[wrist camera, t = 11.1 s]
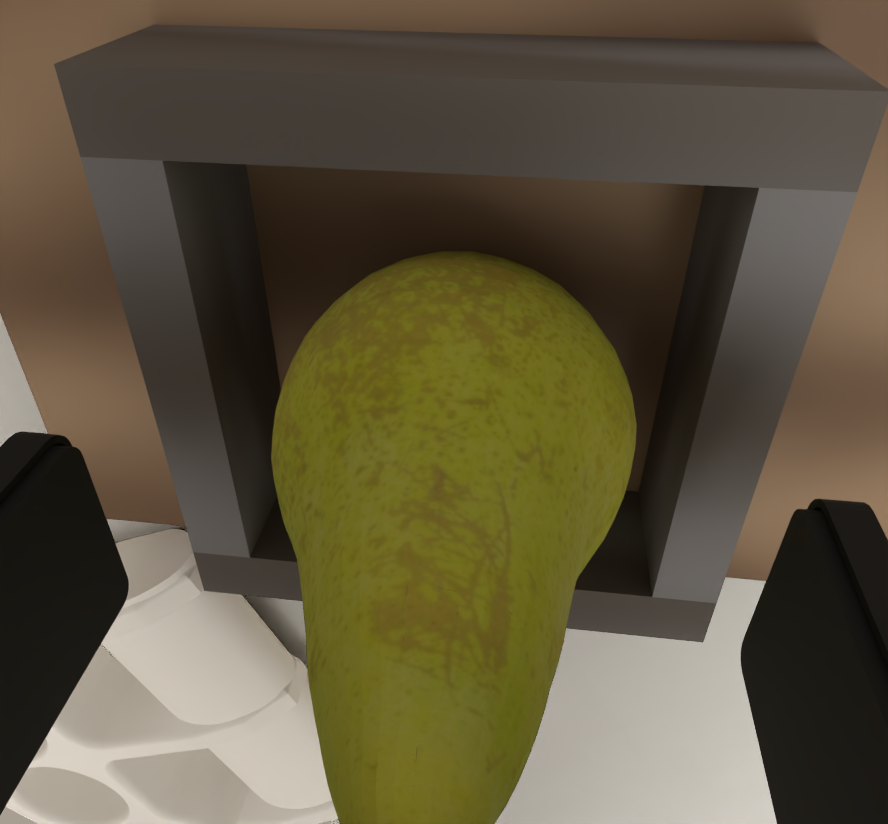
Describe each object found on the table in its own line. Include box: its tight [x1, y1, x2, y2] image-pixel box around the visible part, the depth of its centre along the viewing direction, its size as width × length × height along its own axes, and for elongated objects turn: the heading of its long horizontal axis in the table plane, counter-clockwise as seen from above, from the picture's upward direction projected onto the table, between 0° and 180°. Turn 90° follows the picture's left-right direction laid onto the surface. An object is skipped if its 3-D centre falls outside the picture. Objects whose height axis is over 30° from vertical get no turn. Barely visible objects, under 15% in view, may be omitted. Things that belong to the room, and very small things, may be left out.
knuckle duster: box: [5, 529, 338, 824], centre depth 25 cm, size 3×18×15 cm
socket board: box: [0, 0, 888, 642], centre depth 14 cm, size 13×20×4 cm, turn 90°
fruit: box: [271, 251, 637, 824], centre depth 10 cm, size 6×6×12 cm
